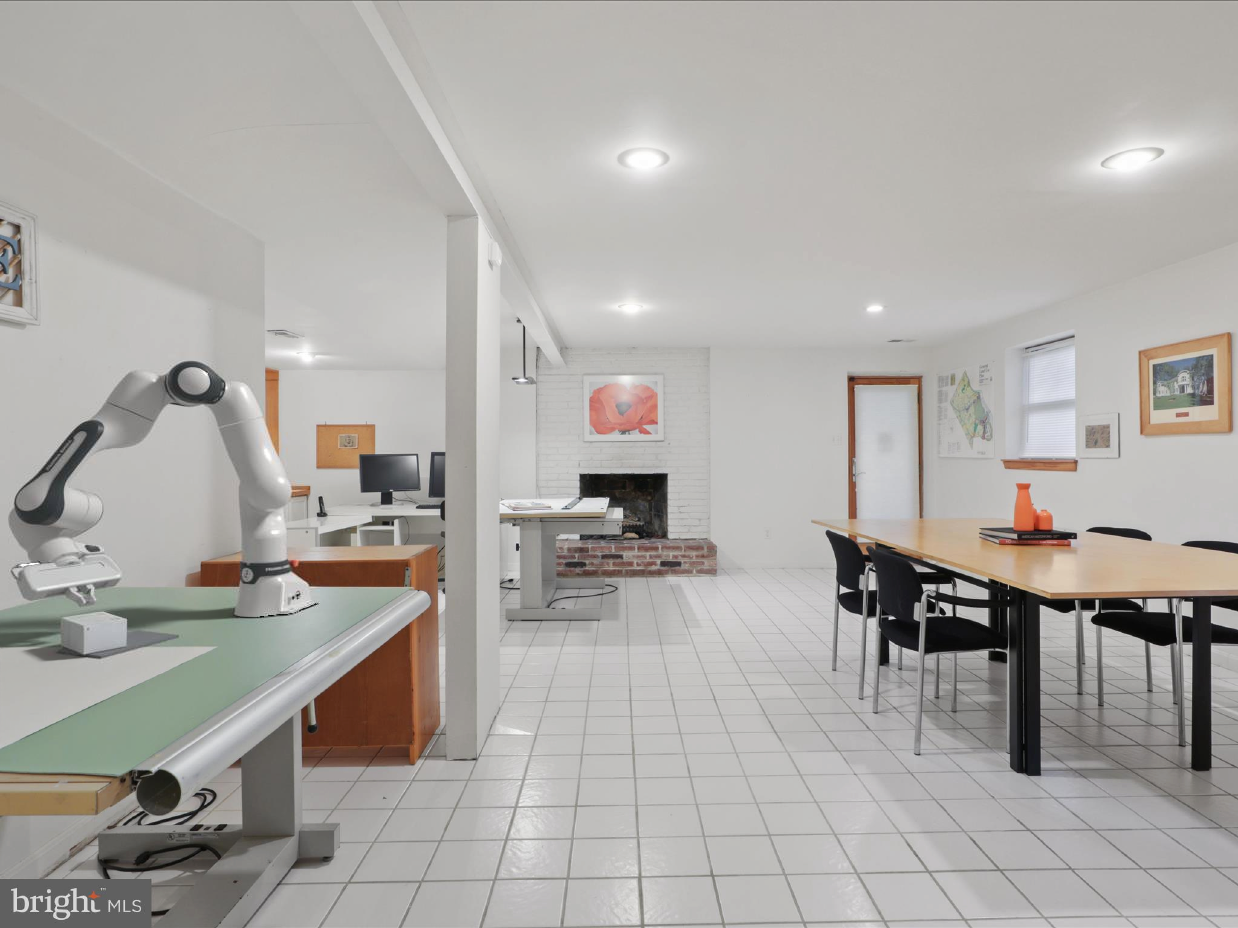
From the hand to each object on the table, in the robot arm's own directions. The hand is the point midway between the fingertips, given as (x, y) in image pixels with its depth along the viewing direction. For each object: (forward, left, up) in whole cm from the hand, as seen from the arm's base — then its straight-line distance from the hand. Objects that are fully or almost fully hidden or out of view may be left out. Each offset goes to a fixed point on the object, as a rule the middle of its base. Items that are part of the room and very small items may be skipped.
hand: (88, 604), depth 155 cm
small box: (+2, +1, -5) cm, 6 cm away
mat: (0, +10, -8) cm, 13 cm away
